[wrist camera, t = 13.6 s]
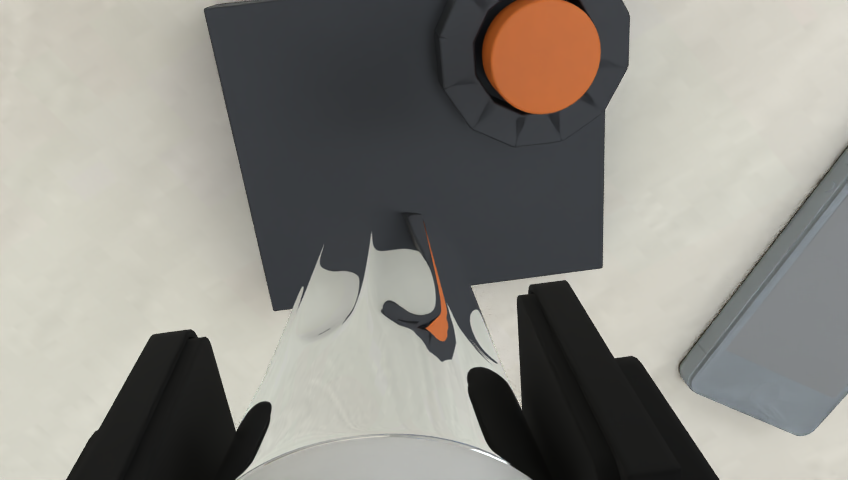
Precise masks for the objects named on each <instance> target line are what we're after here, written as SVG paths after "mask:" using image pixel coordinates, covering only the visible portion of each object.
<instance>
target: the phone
mask: <svg viewBox="0 0 848 480" xmlns="http://www.w3.org/2000/svg"><path fill="white" fill-rule="evenodd" d="M680 374H681V377H682V378H683V380H684V381H685V382H686V384H687V385H688V386H689V388H690V389H691V390H692V391H694V392H695V393H697V394H699V395H702V396H704V397H706V398H709V399H711V400H714V401H716V402H718V403H721V404H723V405H725V406H728V407H730V408H732V409H735V410H737V411H740V412H742V413H744V414H747V415H749V416H751V417H754V418H756V419H759V420H761V421H763V422H766V423H768V424H770V425H773V426H775V427H777V428H780V429H782V430H785V431H787V432H789V433H792V434H794V435H797V436H804V435H807V434H810V433H811V432H813V431H814V430H815V429H816V428H817V427H818V426H819V425H820V424H821V423H822V421H823V420H824V419H825V418H826V417H827V416H828V415H829V414H830V413H831V411H832V410H833V409H834V408H835V407H836V406H837V405H838V404H839V403H840V401H841V400H842V399H843V398H844V397H845V396H846V395H847V394H848V147H847V149H846V150H845V151H844V153H843V154H842V155H841V157H840V158H839V159H838V160H837V162H836V163H835V164H834V166H833V167H832V168H831V169H830V171H829V172H828V173H827V175H826V176H825V177H824V179H823V180H822V181H821V182H820V184H819V185H818V186H817V188H816V189H815V190H814V191H813V193H812V194H811V195H810V197H809V198H808V199H807V201H806V202H805V203H804V204H803V206H802V207H801V208H800V210H799V211H798V212H797V214H796V215H795V216H794V217H793V219H792V220H791V221H790V223H789V224H788V225H787V226H786V228H785V229H784V230H783V232H782V233H781V234H780V236H779V237H778V238H777V239H776V241H775V242H774V243H773V245H772V246H771V247H770V249H769V250H768V251H767V252H766V254H765V255H764V256H763V258H762V259H761V260H760V261H759V263H758V264H757V265H756V267H755V268H754V269H753V271H752V272H751V273H750V274H749V276H748V277H747V278H746V280H745V281H744V282H743V284H742V285H741V286H740V287H739V289H738V290H737V291H736V293H735V294H734V295H733V296H732V298H731V299H730V300H729V302H728V303H727V304H726V306H725V307H724V308H723V309H722V311H721V312H720V313H719V315H718V316H717V317H716V319H715V320H714V321H713V322H712V324H711V325H710V326H709V328H708V329H707V330H706V331H705V333H704V334H703V335H702V337H701V338H700V339H699V341H698V342H697V343H696V344H695V346H694V347H693V348H692V350H691V351H690V352H689V354H688V355H687V356H686V357H685V359H684V360H683V361H682V363H681V365H680Z"/></svg>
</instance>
